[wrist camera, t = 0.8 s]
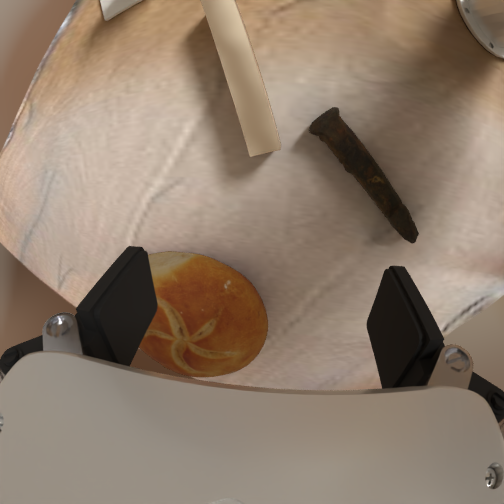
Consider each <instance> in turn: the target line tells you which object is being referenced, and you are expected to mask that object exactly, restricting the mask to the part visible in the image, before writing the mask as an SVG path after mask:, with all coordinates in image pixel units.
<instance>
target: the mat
mask: <svg viewBox="0 0 504 504" xmlns="http://www.w3.org/2000/svg"><path fill="white" fill-rule="evenodd" d="M141 1H143V0H100V2H101V6H102V10H103V15H104V19H105V20H106V21H108V20H110V19H111V18H113V17H115V16H116V15H118V14H120V13H121V12H123V11H125V10H126V9H128V8H130V7H132V6H133V5H135V4H137V3H139V2H141Z"/></svg>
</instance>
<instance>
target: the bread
mask: <svg viewBox="0 0 504 504" xmlns="http://www.w3.org/2000/svg"><path fill="white" fill-rule="evenodd" d="M148 258H149V263H150V268H151V274H152V279H153V284H154V289H155V293H156V298H157V303H158V308H157V312H156V314H155V316H154V318H153V320H152V322H151V323H150V325H149V327H148V329H147V331H146V333H145V335H144V337H143V339H142V341H141V343H140V345H139V348H140V349H141V350H142V351H143V352H145V353H146V354H147V355H149V356H150V357H151V358H152V359H153V360H155V361H157V362H158V363H160V364H161V365H163V366H164V367H165V368H167V369H169V370H172V371H174V372H176V373H179V374H182V375H186V376H192V377H214V376H220V375H225V374H230V373H233V372H236V371H238V370H240V369H242V368H244V367H245V366H247V365H248V364H249V363H250V362H251V361H253V360H254V359H255V357H256V356H257V355H258V354H259V352H260V350H261V349H262V347H263V345H264V342H265V340H266V336H267V332H268V319H267V314H266V310H265V307H264V304H263V302H262V299H261V298H260V296H259V294H258V292H257V290H256V289H255V287H254V286H253V285H252V283H251V282H250V281H249V280H248V279H247V278H246V277H244V276H243V275H242V274H240V273H239V272H238V271H236V270H234V269H233V268H231V267H229V266H227V265H225V264H223V263H221V262H219V261H217V260H215V259H212V258H210V257H207V256H204V255H200V254H194V253H183V252H172V251H168V252H160V253H155V254H149V255H148Z"/></svg>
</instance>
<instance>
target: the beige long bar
mask: <svg viewBox="0 0 504 504" xmlns="http://www.w3.org/2000/svg"><path fill="white" fill-rule="evenodd" d="M201 3H202V6H203V9H204V12H205V15H206V18H207V21H208V24H209V27H210V30H211V33H212V36H213V39H214V42H215V45H216V48H217V51H218V54H219V57H220V60H221V64H222V67H223V70H224V73H225V76H226V79H227V83H228V86H229V89H230V92H231V95H232V99H233V102H234V105H235V108H236V112H237V115H238V118H239V122H240V125H241V128H242V132H243V135H244V138H245V142H246V145H247V148H248V152H249V155H250V157H252V156H256V155H260V154H264V153H268V152H273V151H277V150H280V148H281V142H280V139H279V135H278V131H277V127H276V124H275V120H274V117H273V113H272V110H271V106H270V103H269V99H268V96H267V92H266V89H265V86H264V82H263V79H262V76H261V73H260V69H259V66H258V63H257V60H256V57H255V54H254V51H253V48H252V45H251V42H250V39H249V36H248V33H247V30H246V27H245V24H244V21H243V18H242V16H241V13H240V10H239V7H238V4H237V2H236V0H201Z"/></svg>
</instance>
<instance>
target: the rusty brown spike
mask: <svg viewBox="0 0 504 504" xmlns="http://www.w3.org/2000/svg"><path fill="white" fill-rule="evenodd" d="M309 132H310V133H312V134H314V135H317V136H319V138H320V140H321V141H323V142H325V143H326V144H327V145H328V147H329V148H330V149H331V150H332V151H333V153H334V154H335V156H336V157H337V158H338V159H339V161H340V162H341V164H343V165H344V167H345V170H346V171H347V172H349V173H351V174H352V175H353V176H354V177H355V178H356V179H357V181H358V182H359V183H360V184H361V185H362V187H363V188H364V189H365V190H366V191H367V193H368V194H369V195H370V197H371V198H372V199H373V201H374V202H375V203H376V205H377V206H378V208H379V209H380V210H381V211H382V213H383V214H384V216H385V217H386V218H387V219H388V220H389V222H390V224H391V225H392V226H393V227H394V228H395V229H396V230H397V231H398V232H399V234H400V235H401V236H402V237H403V238H404V239H405V240H407V241H409V242H410V243H415V242H416V239H417V236H418V234H419V233H418V231H417V228H416V226H415V223H414V222H413V220H412V218H411V216H410V213H409V211H408V209H407V208H406V207H405V206H404V204H403V203H402V201H401V200H400V198H399V196H398V195H397V193H396V192H395V190H394V189H393V187H392V186H391V184H390V182H389V181H388V179H387V178H386V176H385V175H384V173H383V172H382V170H381V169H380V167H379V166H378V165H377V163H376V162H375V160H374V159H373V158H372V156H371V155H370V153H369V152H368V151H367V149H366V148H365V147H364V145H363V144H362V143H361V141H360V140H359V139H358V138H357V136H356V135H355V134H354V132H353V131H352V130H351V129H350V128H349V127H348V126H347V124H346V123H345V122H344V121H343V120H342V119H341V117H340V116H339V109H338V108H336V107H333V108H331V109H330V110H328V111H326V112H325V113H323V114H322V115H321V116H319V117H318V118H317V119H316V120H315V121H314V122H312V125H311V126H310V128H309Z"/></svg>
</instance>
